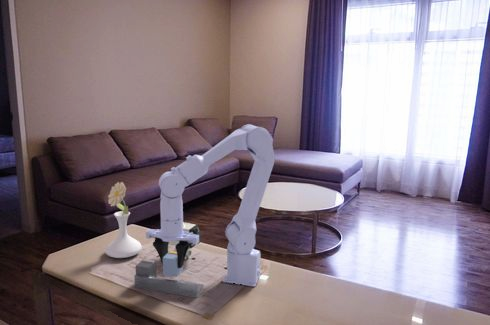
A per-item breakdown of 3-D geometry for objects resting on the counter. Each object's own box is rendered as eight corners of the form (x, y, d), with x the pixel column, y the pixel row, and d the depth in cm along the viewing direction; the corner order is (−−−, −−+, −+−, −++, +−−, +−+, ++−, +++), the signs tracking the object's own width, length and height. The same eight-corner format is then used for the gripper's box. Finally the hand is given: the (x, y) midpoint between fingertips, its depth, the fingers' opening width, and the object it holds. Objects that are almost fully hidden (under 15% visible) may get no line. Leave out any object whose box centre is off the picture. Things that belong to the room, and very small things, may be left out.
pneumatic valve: (195, 263, 111) (195, 227, 109) (163, 257, 115) (162, 221, 113) (203, 256, 116) (203, 221, 114) (172, 250, 120) (171, 216, 118)
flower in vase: (104, 249, 120) (99, 177, 115) (139, 244, 125) (136, 174, 120) (107, 266, 108) (102, 187, 104) (145, 259, 113) (142, 183, 108)
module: (183, 270, 98) (182, 252, 97) (176, 277, 94) (176, 258, 93) (169, 268, 99) (169, 250, 98) (163, 275, 95) (162, 256, 94)
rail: (203, 287, 98) (203, 266, 96) (196, 297, 93) (196, 275, 92) (144, 278, 102) (143, 258, 101) (134, 287, 97) (133, 266, 96)
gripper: (139, 219, 92) (140, 268, 94) (191, 225, 88) (192, 276, 91) (152, 211, 98) (153, 257, 101) (202, 216, 95) (202, 263, 97)
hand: (172, 265), depth 96 cm, fingers closed on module, 4 cm apart
